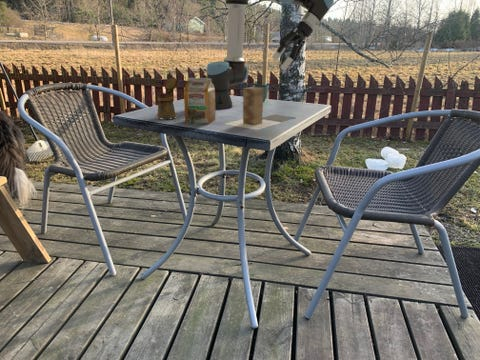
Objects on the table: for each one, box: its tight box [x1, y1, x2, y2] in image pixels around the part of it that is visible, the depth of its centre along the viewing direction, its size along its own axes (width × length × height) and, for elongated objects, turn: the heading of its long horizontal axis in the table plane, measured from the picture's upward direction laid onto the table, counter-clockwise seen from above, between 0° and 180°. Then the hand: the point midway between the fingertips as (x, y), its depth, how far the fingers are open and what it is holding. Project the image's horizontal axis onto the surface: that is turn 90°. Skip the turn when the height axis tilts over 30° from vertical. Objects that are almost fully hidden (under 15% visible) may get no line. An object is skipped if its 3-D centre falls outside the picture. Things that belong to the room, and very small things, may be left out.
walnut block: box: [242, 86, 264, 125], centre depth 161 cm, size 6×6×15 cm
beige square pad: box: [224, 118, 281, 131], centre depth 164 cm, size 18×18×1 cm
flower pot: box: [252, 84, 270, 102], centre depth 222 cm, size 9×9×9 cm
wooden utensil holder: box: [156, 76, 178, 119], centre depth 173 cm, size 9×14×18 cm, turn 162°
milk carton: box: [183, 77, 216, 125], centre depth 163 cm, size 11×11×19 cm
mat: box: [262, 114, 297, 123], centre depth 175 cm, size 12×12×1 cm
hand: (278, 64), depth 174 cm, fingers open, 13 cm apart
